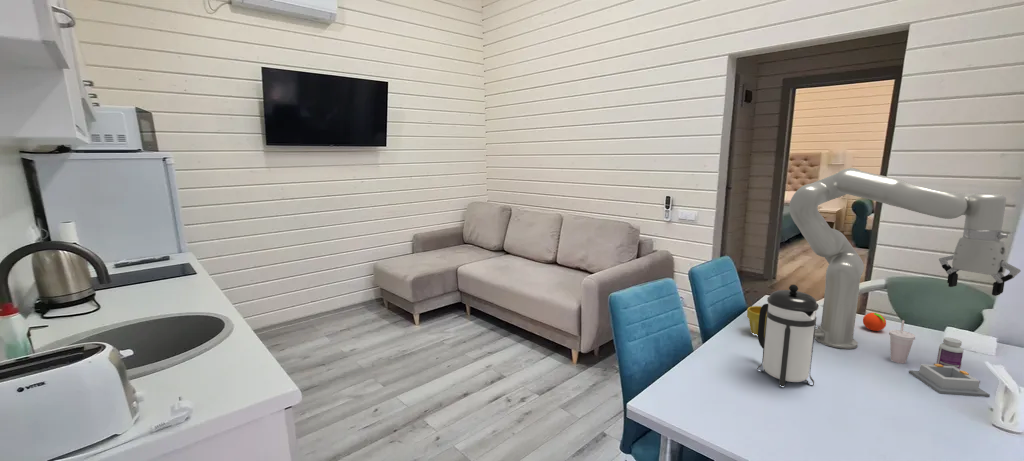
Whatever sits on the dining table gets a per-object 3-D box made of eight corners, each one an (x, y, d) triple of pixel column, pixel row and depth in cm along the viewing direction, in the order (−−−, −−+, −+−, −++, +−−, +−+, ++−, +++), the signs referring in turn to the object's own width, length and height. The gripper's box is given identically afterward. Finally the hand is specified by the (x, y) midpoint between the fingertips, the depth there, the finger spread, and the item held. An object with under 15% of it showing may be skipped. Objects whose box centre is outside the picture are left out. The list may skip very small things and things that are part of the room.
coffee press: (818, 375, 131) (829, 283, 126) (809, 396, 120) (820, 296, 115) (755, 358, 143) (763, 273, 138) (742, 376, 132) (750, 284, 126)
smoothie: (904, 357, 141) (911, 318, 139) (915, 366, 135) (922, 325, 133) (881, 355, 143) (887, 316, 141) (891, 364, 137) (897, 323, 135)
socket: (939, 393, 120) (942, 380, 120) (908, 372, 132) (910, 360, 131) (989, 397, 118) (992, 383, 117) (953, 375, 130) (955, 362, 129)
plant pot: (757, 327, 168) (759, 304, 166) (783, 337, 159) (785, 312, 157) (739, 332, 164) (741, 308, 162) (764, 342, 155) (766, 317, 153)
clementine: (892, 335, 159) (895, 317, 158) (873, 335, 159) (876, 317, 158) (874, 326, 167) (877, 309, 166) (857, 326, 167) (859, 309, 166)
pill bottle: (964, 373, 131) (970, 344, 129) (944, 371, 132) (949, 342, 130) (950, 364, 136) (955, 336, 135) (931, 363, 137) (936, 335, 136)
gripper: (1031, 238, 118) (1021, 296, 121) (950, 230, 134) (943, 281, 137) (1017, 240, 116) (1008, 300, 119) (936, 232, 132) (930, 284, 134)
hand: (973, 290), depth 128 cm, fingers open, 9 cm apart
